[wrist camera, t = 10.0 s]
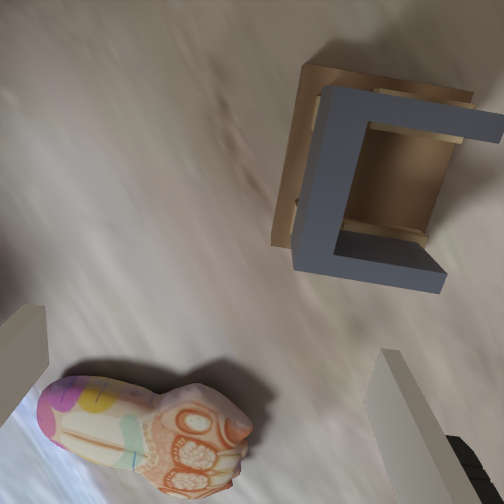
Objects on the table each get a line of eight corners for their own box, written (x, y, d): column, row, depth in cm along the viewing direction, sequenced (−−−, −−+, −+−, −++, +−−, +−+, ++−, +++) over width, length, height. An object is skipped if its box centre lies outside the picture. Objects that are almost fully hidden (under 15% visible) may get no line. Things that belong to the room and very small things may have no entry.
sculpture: (81, 454, 54) (261, 465, 51) (55, 503, 48) (256, 519, 45) (43, 361, 46) (252, 367, 43) (6, 406, 40) (245, 417, 37)
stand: (270, 234, 38) (270, 254, 33) (302, 65, 32) (307, 61, 28) (402, 255, 38) (419, 278, 34) (456, 92, 32) (487, 92, 28)
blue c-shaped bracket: (290, 239, 33) (293, 270, 27) (322, 86, 28) (334, 85, 23) (411, 259, 33) (439, 294, 27) (463, 110, 28) (510, 115, 23)
